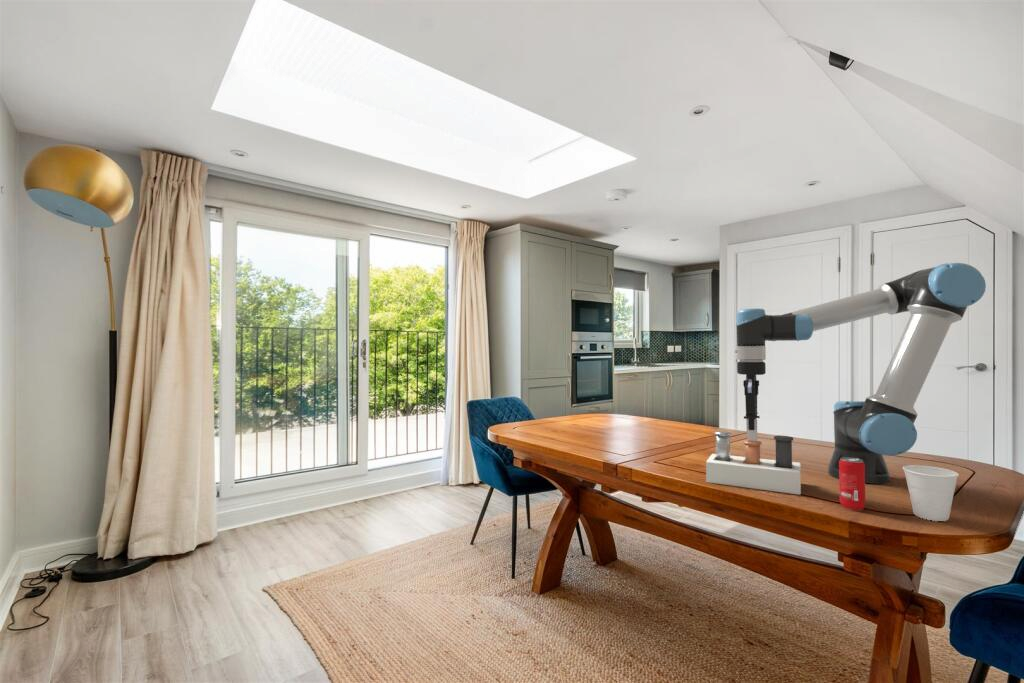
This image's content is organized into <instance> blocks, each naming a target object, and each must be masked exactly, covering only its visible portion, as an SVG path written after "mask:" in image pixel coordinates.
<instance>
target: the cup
mask: <svg viewBox="0 0 1024 683" xmlns="http://www.w3.org/2000/svg"><path fill="white" fill-rule="evenodd" d="M902 470H903V471H904V476H905V479H906V481H905V482H906V484H907V488H908V493H909V498H910V502H911V507H912V508H911V509H912V512H913V514H914V515H915V516H916V517H917V516H918V517H917V518H919V517H920V519H922V518H923V519H922V520H926V519H927V521H930V520H932V521H931V522H938V521H944V522H946V521H948V520H949V518H950V514H951V509H952V504H953V499H954V495H955V490H956V486H957V481H958V478H959V476H960V474H959V473H958V472H956V471H955V470H951V469H947V468H943V467H936V466H929V465H922V464H921V465H920V464H910V465H903V466H902Z"/></svg>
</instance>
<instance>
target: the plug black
mask: <svg viewBox="0 0 1024 683" xmlns="http://www.w3.org/2000/svg"><path fill="white" fill-rule="evenodd" d="M773 439H774V440H775V460H776V467H781V468H790V469H792V462H793V447H792V446H793V444H792V442H793V441H794V437H793V436H788V435H774V436H773Z"/></svg>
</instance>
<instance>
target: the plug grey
mask: <svg viewBox="0 0 1024 683" xmlns="http://www.w3.org/2000/svg"><path fill="white" fill-rule="evenodd" d="M713 434H714V435H715V454H716V460H718V461H727V462H731V460H730V455H731V436H732V434H733V433H732V432H731V431H729V430H728V431H727V430H716V431H714V432H713Z"/></svg>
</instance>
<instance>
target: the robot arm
mask: <svg viewBox="0 0 1024 683" xmlns="http://www.w3.org/2000/svg"><path fill="white" fill-rule="evenodd" d="M986 287H987V285H986V280H985V277H984V276H983V275H982V273H981V272H980V271H979V269H978V268H976V267H974V266H972V265H970V264H968V263H963V262H951V263H947V262H946V263H943V264H940V265H937V266H934V267H933V266H932V267H930V268H925V269H921V270H917V271H915V272H911V273H910V274H907V275H904V276H902V277H900V278H897V279H895V280H892V281H888V282H886V283H885V282H884V283H881V284H880V285H879V286H878V287H877V288H876V289H873V290H868V291H865V292H861V293H858V294H853V295H850V296H846V297H842V298H839V299H835V300H832V301H828V302H824V303H820V304H817V305H813V306H810V307H806V308H803V309H799V310H793V311H791V312H787V313H784V314H776V315H775V314H774V315H770V314H766V311H765V309H764V308H742V309H739V310H738V311H737V313H736V325H735V326H736V349H735V350H734V353H735V354H736V359H737V360H739V361H737V363H736V373H737V374H738V375H745V379H744V380H743V381H742V382H743V384H742V385H743V388H744V392H743V393H744V396H745V415H744V416H743V420H745V422H746V440H747V441H756V442H757V440H758V419H760V415H758V413H759V412H758V396H759V386H760V380H758V379H757V376H759V375H760V376H761V375H762V376H763V375H765V374H766V372H767V371H766V369H767V368H766V367H767V366H766V362H765V360H767V358H766V353H767V352H766V341H768V342H777V341H781V342H783V341H784V342H785V341H789V342H790V341H794V342H795V341H797V342H799V341H808V340H810V339H811V338H812V336H813V333H814V332H817V331H820V330H824V329H827V328H831V327H836V326H839V325H842V324H847V323H851V322H852V323H853V322H856V321H859V320H863V319H866V318H870V317H871V318H872V317H874V316H875V317H876V316H879V315H882V314H888V315H892V316H893V315H896V314H900V313H905V312H909V313H910V316H909V318H908V321H907V323H906V325H905V327H904V330H903V332H902V334H901V336H900V338H899V341H898V343H897V345H896V348H895V349H894V352H893V354H892V357H891V359H890V360H889V363H888V365H887V367H886V370H885V372H884V373H883V374H884V375H883V376H882V378H881V381H880V383H879V386H878V387H877V390H876V391H875V393H874V394H872V395H871V396H867V397H865V401H858V400H857V401H854V400H853V401H851V400H850V401H849V400H848V401H845V400H843V401H841V400H840V401H836V402H835V403H834V406H833V408H834V409H833V411H832V414H833V426H834V427H833V429H834V432H833V434H834V450H833V453H832V455H831V458H830V460H829V463H828V466H827V467H828V468H827V469H828V470H827V471H828V475H829V476H832V477H834V478H836V479H839V461H840V458H842V457H850V458H857V459H861V460H863V463H864V464H865V484H886V483H889V482H891V474H890V471H889V467H888V465H887V463H886V461H885V458H884V456H888V457H889V456H899V455H902V454H904V453H906V452H909V451H910V450H911V448H913V446H914V445H915V444H916V442H917V439H918V431H917V429H916V426H915V421H916V419H917V418H918V412H917V410H916V409H915V404H916V401H917V399H918V397H919V395H920V393H921V391H922V388H923V386H924V384H925V382H926V381H927V380H926V379H927V377H928V376H929V373H930V371H931V369H932V367H933V364H934V363H935V360H936V358H937V356H938V353H939V352H940V349H941V347H942V345H943V342H944V340H945V339H946V336H947V334H948V332H949V329H950V327H951V325H952V324H954V323H956V322H958V321H961V320H962V319H963V318H964V315H965V313H966V311H967V309H968V306H972V305H974V304H976V303H977V302H978V301H980V300H981V299H982V298H983V296H984V294H985V292H986Z"/></svg>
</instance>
